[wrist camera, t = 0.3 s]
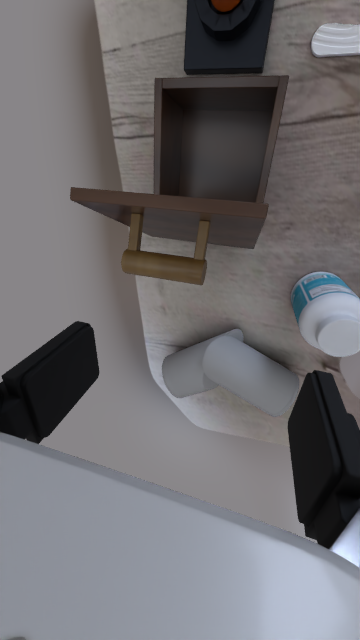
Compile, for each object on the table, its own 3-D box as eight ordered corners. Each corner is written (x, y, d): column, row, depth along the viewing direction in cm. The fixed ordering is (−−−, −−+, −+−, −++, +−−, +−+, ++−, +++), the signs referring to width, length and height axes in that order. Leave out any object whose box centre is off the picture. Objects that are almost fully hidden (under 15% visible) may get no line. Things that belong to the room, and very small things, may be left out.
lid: (70, 186, 16) (66, 265, 17) (268, 203, 14) (250, 295, 15) (152, 230, 31) (147, 271, 32) (255, 242, 28) (246, 286, 29)
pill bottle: (316, 323, 40) (338, 378, 28) (279, 297, 39) (287, 341, 28) (357, 289, 36) (403, 337, 24) (317, 259, 36) (344, 293, 24)
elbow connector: (259, 300, 39) (162, 342, 48) (267, 346, 31) (149, 386, 40) (300, 367, 47) (210, 392, 56) (315, 418, 39) (206, 438, 48)
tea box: (179, 103, 32) (154, 77, 24) (281, 103, 29) (289, 75, 22) (173, 224, 39) (153, 232, 31) (255, 233, 36) (254, 244, 29)
